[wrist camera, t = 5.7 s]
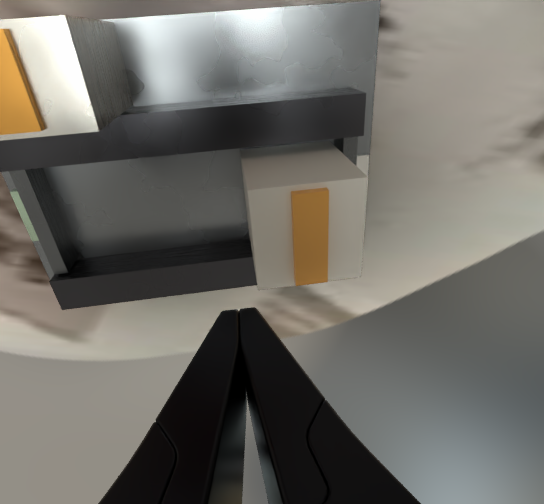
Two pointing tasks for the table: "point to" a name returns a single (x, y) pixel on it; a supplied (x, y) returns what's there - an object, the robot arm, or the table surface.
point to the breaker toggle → (304, 213)
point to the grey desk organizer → (169, 135)
